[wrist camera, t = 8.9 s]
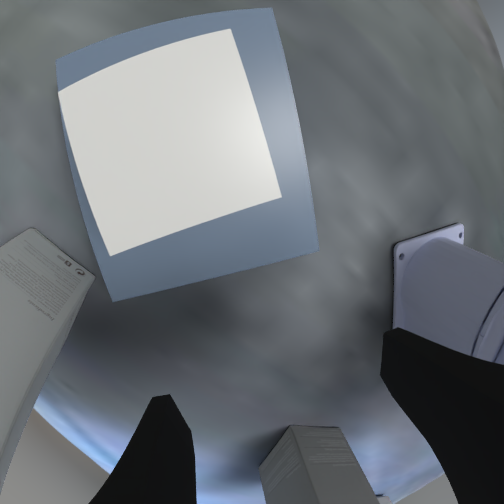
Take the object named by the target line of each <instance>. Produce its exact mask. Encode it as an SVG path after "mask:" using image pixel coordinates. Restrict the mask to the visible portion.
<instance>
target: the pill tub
mask: <svg viewBox="0 0 504 504" xmlns="http://www.w3.org/2000/svg"><path fill="white" fill-rule="evenodd" d="M58 95H59V100H60V105H61V109H62V113H63V118H64V122H65V126H66V130H67V134H68V137H69V141H70V145H71V148H72V152H73V155H74V159H75V162H76V165H77V168H78V172H79V175H80V178H81V181H82V184H83V187H84V190H85V193H86V196H87V199H88V201H89V204H90V207H91V210H92V212H93V215H94V218H95V220H96V223H97V226H98V228H99V231H100V233H101V236H102V238H103V241H104V243H105V245H106V248H107V250H108V253H109V255H110V256H112V255H115V254H117V253H120V252H123V251H125V250H128V249H131V248H133V247H136V246H139V245H142V244H144V243H147V242H150V241H152V240H155V239H158V238H161V237H164V236H166V235H169V234H172V233H175V232H178V231H180V230H183V229H186V228H189V227H192V226H195V225H198V224H201V223H204V222H207V221H210V220H213V219H215V218H218V217H221V216H224V215H228V214H231V213H234V212H237V211H240V210H243V209H246V208H249V207H252V206H255V205H258V204H262V203H265V202H268V201H271V200H274V199H278V198H281V197H282V196H281V192H280V188H279V185H278V181H277V177H276V174H275V170H274V166H273V163H272V159H271V156H270V152H269V149H268V145H267V142H266V139H265V135H264V132H263V128H262V125H261V122H260V118H259V115H258V112H257V108H256V105H255V102H254V99H253V95H252V92H251V89H250V86H249V83H248V80H247V77H246V73H245V70H244V67H243V64H242V61H241V58H240V55H239V52H238V49H237V46H236V43H235V40H234V37H233V34H232V32H231V29H226V30H221V31H217V32H212V33H208V34H204V35H200V36H196V37H192V38H189V39H185V40H181V41H178V42H175V43H171V44H168V45H165V46H162V47H159V48H156V49H153V50H150V51H147V52H144V53H142V54H139V55H136V56H134V57H131V58H128V59H126V60H123V61H121V62H119V63H116V64H114V65H112V66H109V67H107V68H105V69H102V70H100V71H98V72H96V73H94V74H92V75H90V76H88V77H86V78H84V79H82V80H80V81H78V82H76V83H74V84H72V85H70V86H68V87H66V88H64V89H63V90H61V91H59V92H58Z"/></svg>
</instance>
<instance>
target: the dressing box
mask: <svg viewBox="0 0 504 504" xmlns="http://www.w3.org/2000/svg"><path fill="white" fill-rule="evenodd" d="M226 29H231V32H232V34H233V37H234V40H235V43H236V46H237V49H238V52H239V55H240V58H241V61H242V64H243V67H244V70H245V73H246V77H247V80H248V83H249V86H250V89H251V92H252V95H253V99H254V102H255V105H256V108H257V112H258V115H259V118H260V122H261V125H262V128H263V132H264V135H265V139H266V142H267V145H268V149H269V152H270V156H271V159H272V163H273V166H274V170H275V174H276V177H277V181H278V185H279V188H280V192H281V196H282V197H281V198H278V199H274V200H271V201H268V202H265V203H262V204H258V205H255V206H252V207H249V208H246V209H243V210H240V211H237V212H234V213H231V214H228V215H224V216H221V217H218V218H215V219H213V220H210V221H207V222H204V223H201V224H198V225H195V226H192V227H189V228H186V229H183V230H180V231H178V232H175V233H172V234H169V235H166V236H164V237H161V238H158V239H155V240H152V241H150V242H147V243H144V244H142V245H139V246H136V247H133V248H131V249H128V250H125V251H123V252H120V253H117V254H115V255H112V256H110V255H109V253H108V250H107V248H106V245H105V243H104V241H103V238H102V236H101V233H100V231H99V228H98V226H97V223H96V220H95V218H94V215H93V212H92V210H91V207H90V204H89V201H88V199H87V196H86V193H85V190H84V187H83V184H82V181H81V178H80V175H79V172H78V168H77V165H76V162H75V159H74V155H73V152H72V148H71V145H70V141H69V137H68V134H67V130H66V126H65V122H64V118H63V113H62V109H61V105H60V111H61V118H62V125H63V131H64V137H65V143H66V148H67V153H68V158H69V163H70V168H71V172H72V176H73V181H74V185H75V189H76V193H77V197H78V201H79V204H80V208H81V212H82V215H83V219H84V222H85V225H86V229H87V232H88V235H89V238H90V241H91V245H92V248H93V251H94V254H95V256H96V259H97V262H98V265H99V268H100V271H101V273H102V276H103V279H104V281H105V284H106V287H107V289H108V292H109V294H110V297H111V299H112V302H116V301H120V300H124V299H129V298H133V297H137V296H141V295H146V294H150V293H154V292H158V291H162V290H167V289H171V288H175V287H179V286H183V285H187V284H191V283H195V282H199V281H203V280H208V279H212V278H216V277H220V276H224V275H228V274H232V273H236V272H240V271H244V270H248V269H252V268H255V267H259V266H263V265H267V264H271V263H275V262H279V261H283V260H287V259H291V258H294V257H298V256H302V255H306V254H310V253H314V252H317V251H319V244H318V236H317V228H316V221H315V213H314V206H313V200H312V193H311V186H310V180H309V174H308V168H307V162H306V156H305V151H304V145H303V140H302V134H301V129H300V124H299V119H298V114H297V109H296V104H295V99H294V95H293V90H292V86H291V81H290V77H289V72H288V68H287V64H286V60H285V55H284V51H283V47H282V43H281V39H280V36H279V32H278V28H277V24H276V21H275V17H274V13H273V10H272V8H256V9H242V10H232V11H223V12H215V13H208V14H202V15H196V16H190V17H185V18H180V19H175V20H171V21H166V22H162V23H158V24H154V25H150V26H146V27H143V28H139V29H135V30H132V31H129V32H126V33H122V34H119V35H116V36H113V37H110V38H108V39H105V40H102V41H99V42H97V43H94V44H91V45H89V46H86V47H84V48H81V49H79V50H77V51H74V52H72V53H70V54H68V55H65V56H63V57H61V58H59V59H57V60H56V73H57V85H58V92H59V91H61V90H63V89H64V88H66V87H68V86H70V85H72V84H74V83H76V82H78V81H80V80H82V79H84V78H86V77H88V76H90V75H92V74H94V73H96V72H98V71H100V70H102V69H105V68H107V67H109V66H112V65H114V64H116V63H119V62H121V61H123V60H126V59H128V58H131V57H134V56H136V55H139V54H142V53H144V52H147V51H150V50H153V49H156V48H159V47H162V46H165V45H168V44H171V43H175V42H178V41H181V40H185V39H189V38H192V37H196V36H200V35H204V34H208V33H212V32H217V31H221V30H226ZM59 103H60V100H59Z"/></svg>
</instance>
